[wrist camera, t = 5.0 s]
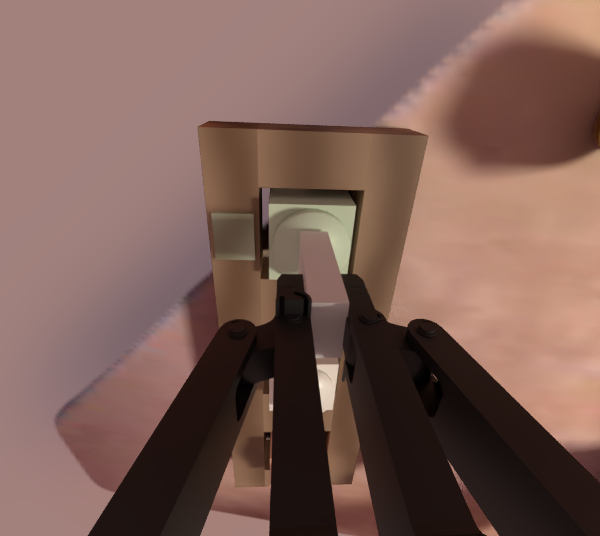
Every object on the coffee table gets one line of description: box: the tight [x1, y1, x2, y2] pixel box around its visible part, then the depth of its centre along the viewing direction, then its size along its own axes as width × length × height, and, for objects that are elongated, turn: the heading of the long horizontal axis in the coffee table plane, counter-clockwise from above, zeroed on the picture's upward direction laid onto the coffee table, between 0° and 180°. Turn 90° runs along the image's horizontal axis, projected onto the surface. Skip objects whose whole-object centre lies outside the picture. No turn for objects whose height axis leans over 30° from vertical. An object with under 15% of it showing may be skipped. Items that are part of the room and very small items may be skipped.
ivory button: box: [269, 358, 339, 413], centre depth 25 cm, size 5×5×4 cm
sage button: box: [269, 188, 356, 280], centre depth 20 cm, size 5×5×4 cm
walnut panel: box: [198, 121, 428, 487], centre depth 26 cm, size 12×34×3 cm, turn 178°
